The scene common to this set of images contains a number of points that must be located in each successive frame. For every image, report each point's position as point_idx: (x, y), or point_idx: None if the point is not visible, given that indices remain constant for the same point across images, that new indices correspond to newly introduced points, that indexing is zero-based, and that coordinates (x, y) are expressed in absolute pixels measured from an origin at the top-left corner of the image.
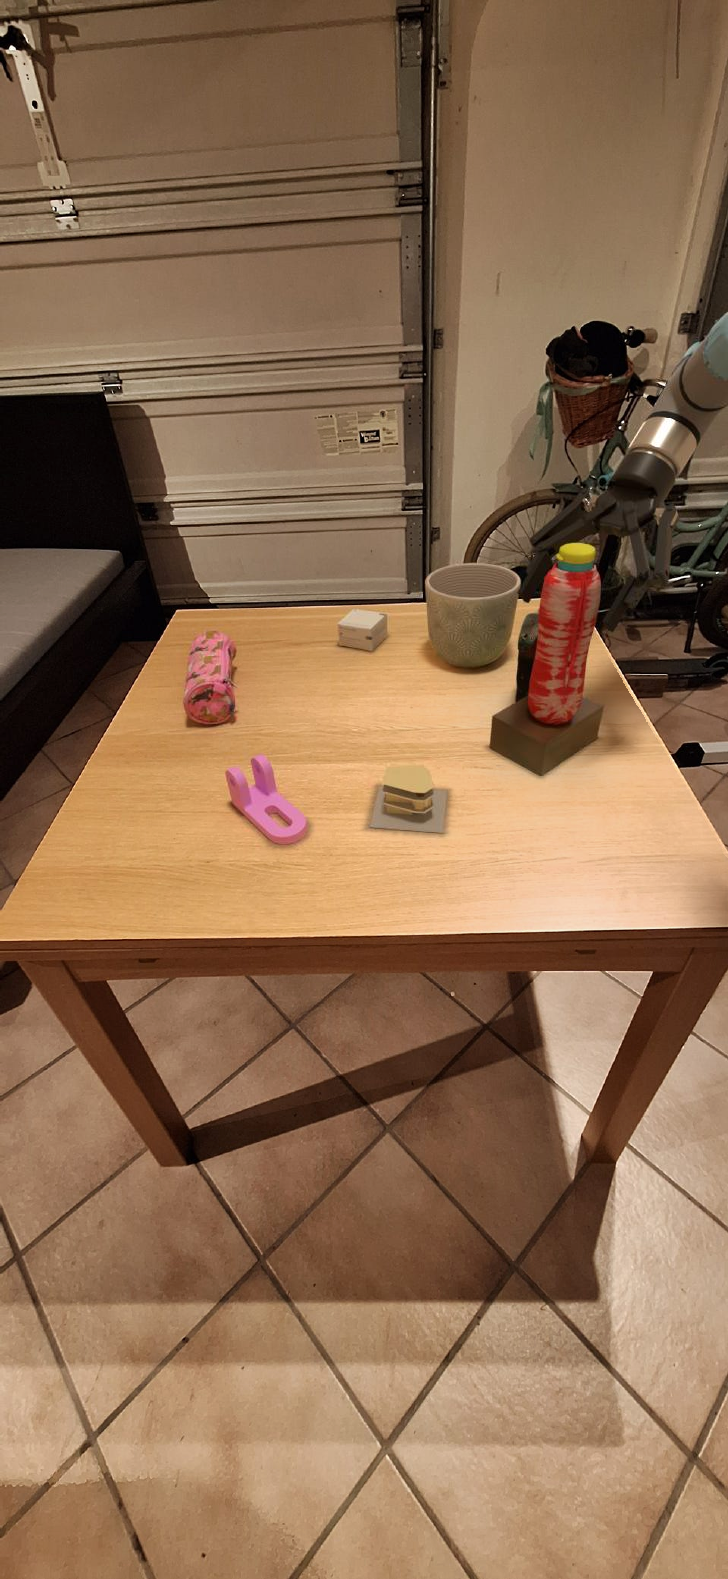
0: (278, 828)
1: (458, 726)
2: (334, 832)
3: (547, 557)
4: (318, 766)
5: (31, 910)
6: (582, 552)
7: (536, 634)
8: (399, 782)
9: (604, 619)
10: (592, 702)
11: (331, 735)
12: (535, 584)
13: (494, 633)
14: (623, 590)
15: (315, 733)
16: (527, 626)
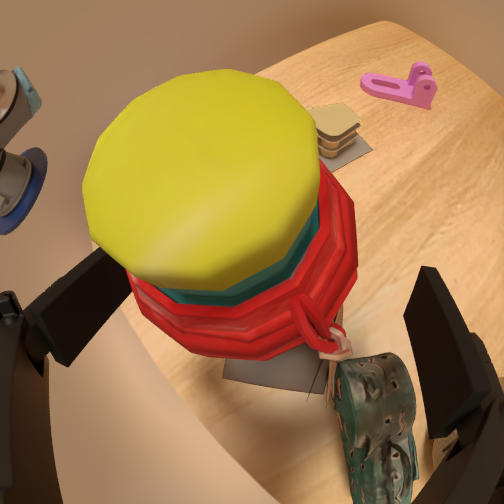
0: (374, 77)
1: (392, 285)
2: (350, 99)
3: (455, 404)
4: (430, 145)
5: (396, 26)
6: (135, 104)
7: (364, 364)
8: (334, 110)
9: None
10: (240, 377)
11: (463, 186)
12: (422, 338)
13: (456, 434)
14: (70, 280)
15: (472, 180)
16: (393, 367)
